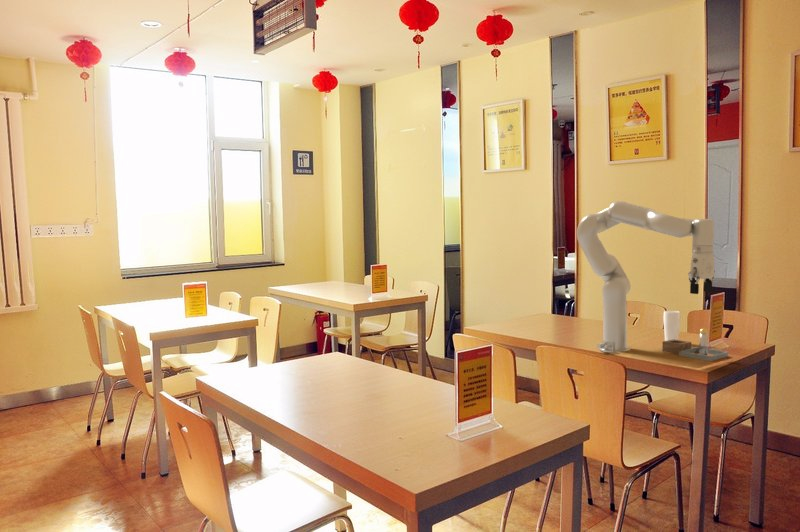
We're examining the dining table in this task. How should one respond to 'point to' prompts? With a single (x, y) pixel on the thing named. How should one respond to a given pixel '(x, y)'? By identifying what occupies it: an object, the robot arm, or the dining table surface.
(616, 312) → the robot arm
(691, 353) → the tray
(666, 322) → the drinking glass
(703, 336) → the pin
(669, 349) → the pin block
